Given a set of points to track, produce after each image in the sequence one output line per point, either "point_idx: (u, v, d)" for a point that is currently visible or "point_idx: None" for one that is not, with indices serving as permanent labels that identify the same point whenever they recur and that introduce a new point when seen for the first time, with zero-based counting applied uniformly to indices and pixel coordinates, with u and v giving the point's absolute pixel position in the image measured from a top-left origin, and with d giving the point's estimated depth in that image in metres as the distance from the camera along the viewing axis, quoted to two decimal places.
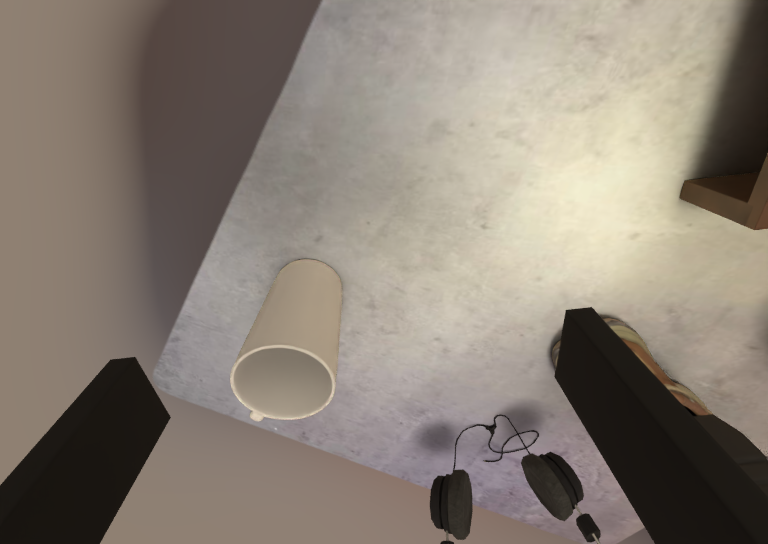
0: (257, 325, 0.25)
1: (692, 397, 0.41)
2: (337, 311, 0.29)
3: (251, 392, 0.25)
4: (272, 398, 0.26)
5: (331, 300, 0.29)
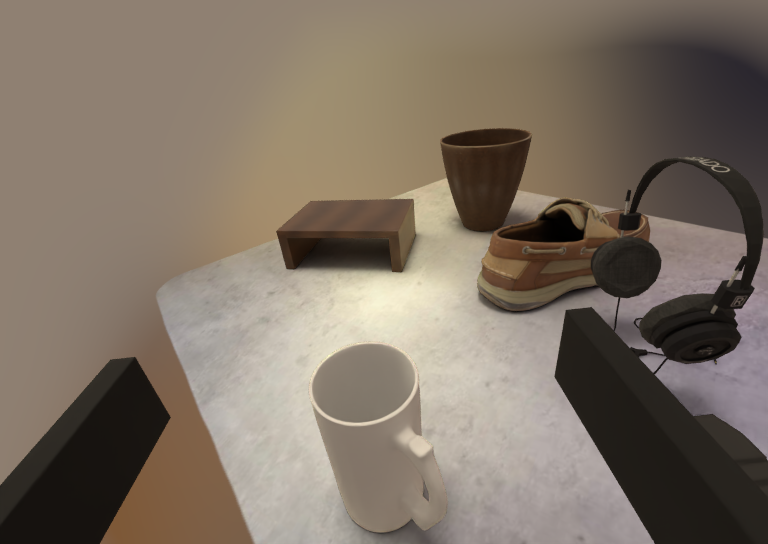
0: None
1: None
2: None
3: None
4: None
5: None
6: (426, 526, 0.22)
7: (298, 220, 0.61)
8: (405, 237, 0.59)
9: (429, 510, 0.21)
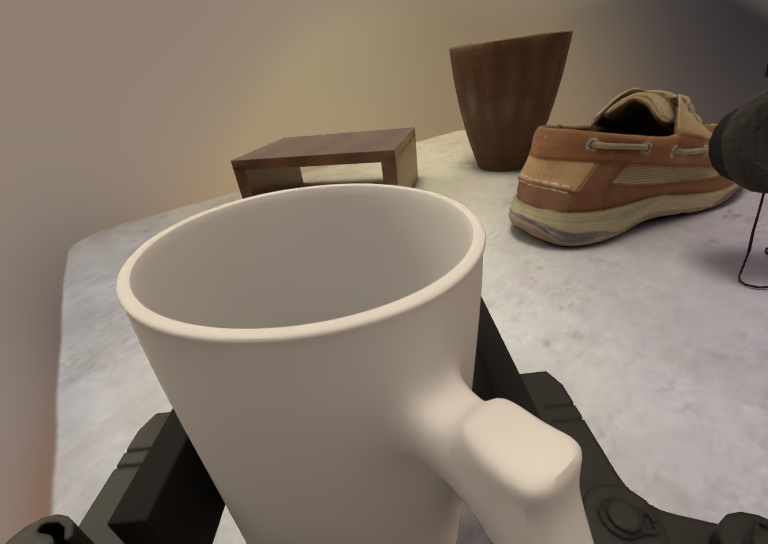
0: None
1: None
2: None
3: None
4: None
5: None
6: None
7: (263, 151, 0.46)
8: (404, 168, 0.44)
9: None
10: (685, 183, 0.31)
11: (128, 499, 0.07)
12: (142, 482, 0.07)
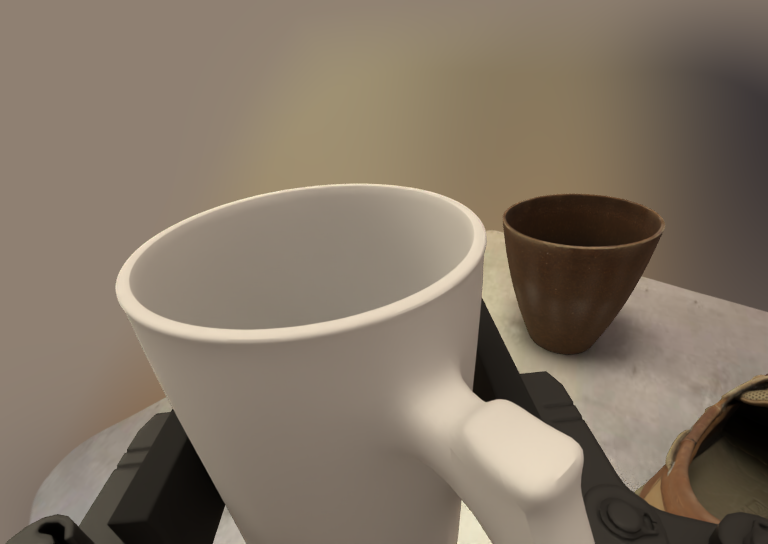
0: None
1: None
2: None
3: None
4: None
5: None
6: None
7: None
8: None
9: None
10: None
11: (128, 499, 0.07)
12: (142, 482, 0.07)
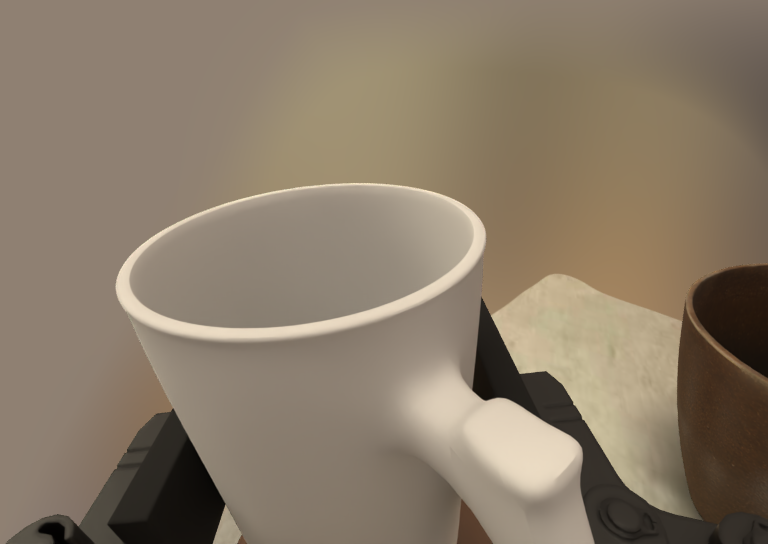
0: None
1: None
2: None
3: None
4: None
5: None
6: None
7: None
8: None
9: None
10: None
11: (128, 499, 0.07)
12: (142, 482, 0.07)
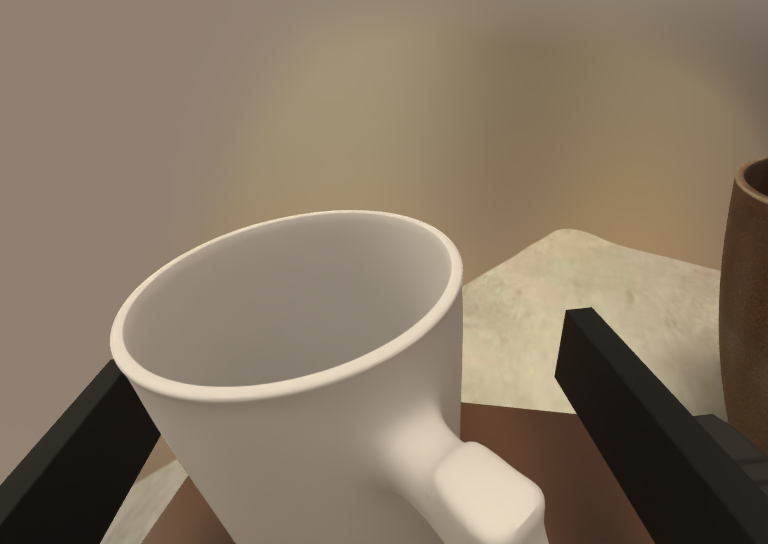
0: None
1: None
2: None
3: None
4: None
5: None
6: None
7: None
8: None
9: None
10: None
11: None
12: None
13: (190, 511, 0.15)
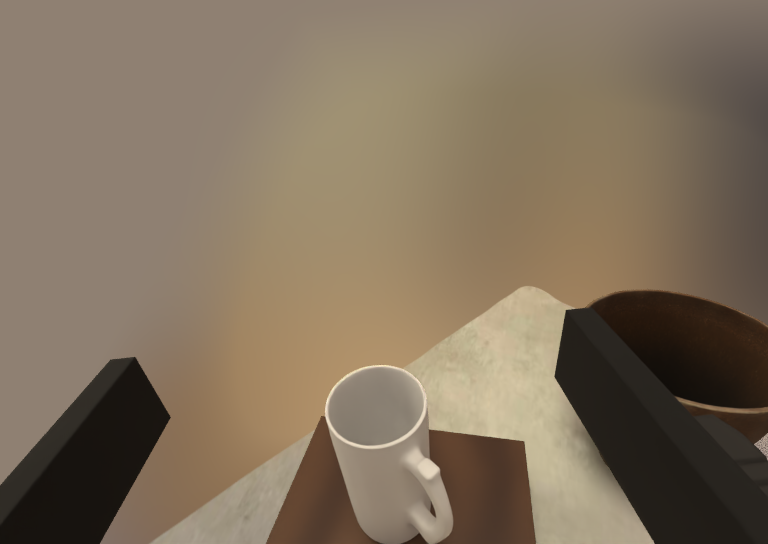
0: None
1: None
2: None
3: None
4: None
5: None
6: (433, 541, 0.24)
7: (300, 521, 0.29)
8: None
9: (436, 527, 0.22)
10: None
11: None
12: None
13: (304, 486, 0.32)
